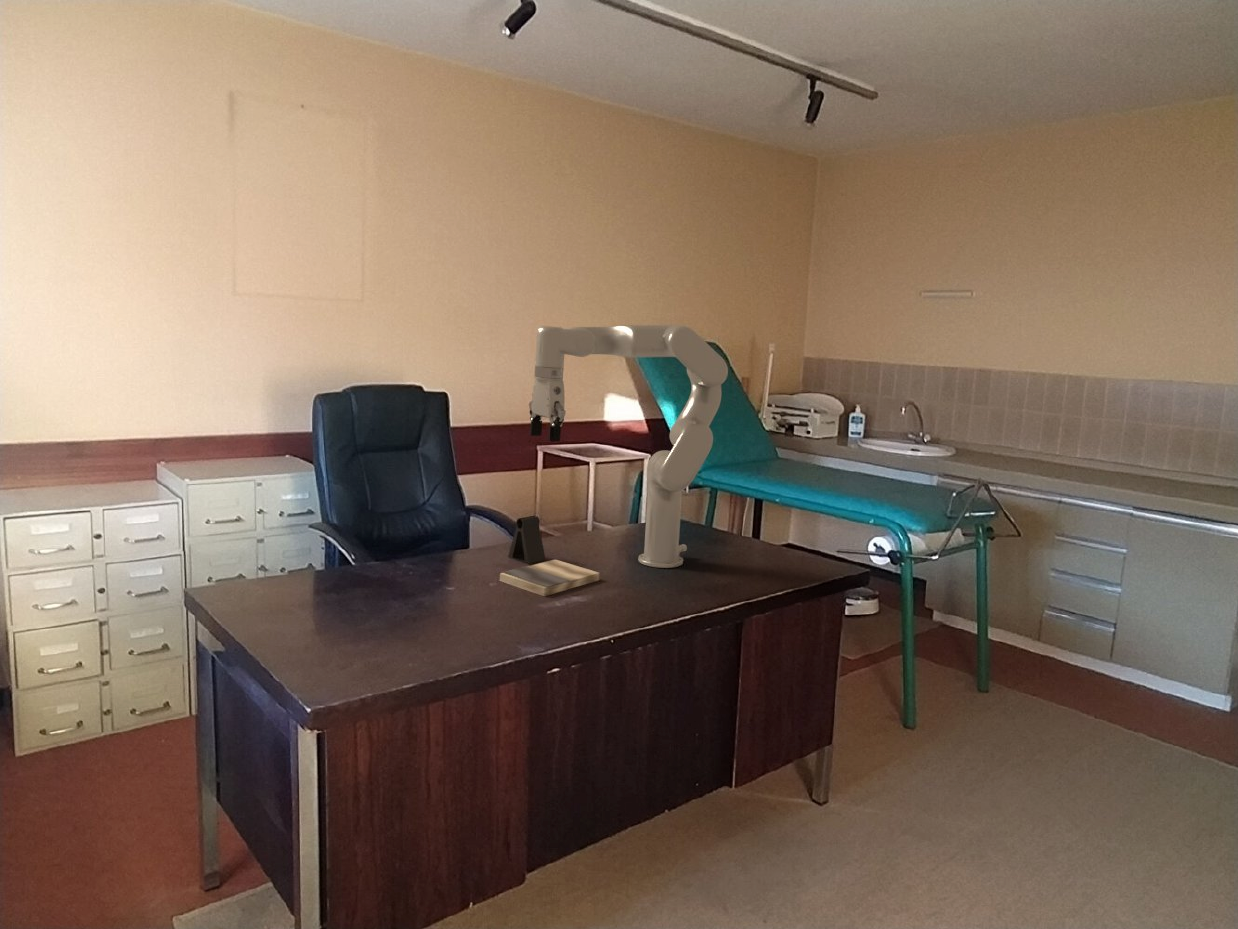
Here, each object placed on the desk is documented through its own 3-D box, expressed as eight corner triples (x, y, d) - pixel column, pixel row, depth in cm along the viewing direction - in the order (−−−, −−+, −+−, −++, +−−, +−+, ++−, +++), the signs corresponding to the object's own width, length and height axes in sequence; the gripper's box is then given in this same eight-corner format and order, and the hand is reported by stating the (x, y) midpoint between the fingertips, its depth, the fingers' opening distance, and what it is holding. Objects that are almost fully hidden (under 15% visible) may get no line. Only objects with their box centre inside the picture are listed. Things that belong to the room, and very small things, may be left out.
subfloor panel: (555, 566, 242) (555, 558, 242) (599, 580, 232) (599, 572, 232) (499, 581, 227) (499, 572, 227) (544, 596, 217) (544, 587, 217)
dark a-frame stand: (545, 561, 247) (547, 518, 245) (529, 564, 243) (530, 521, 241) (524, 554, 253) (525, 512, 251) (507, 557, 249) (509, 515, 247)
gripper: (578, 377, 230) (574, 443, 233) (544, 371, 244) (540, 433, 247) (553, 376, 226) (549, 443, 229) (520, 370, 240) (516, 433, 243)
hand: (544, 438), depth 238 cm, fingers open, 9 cm apart
